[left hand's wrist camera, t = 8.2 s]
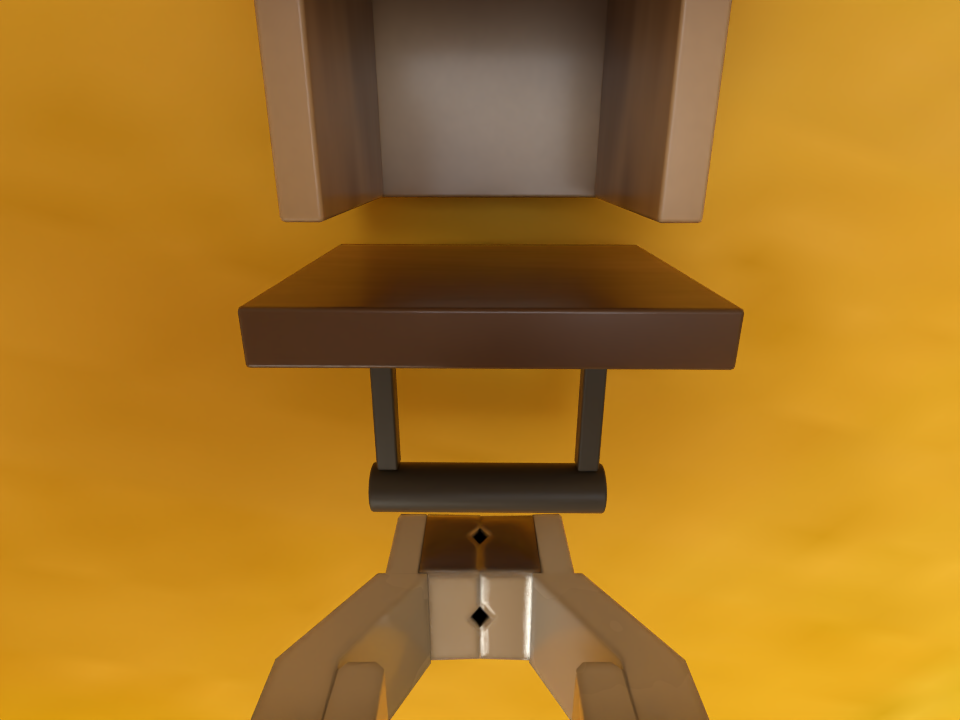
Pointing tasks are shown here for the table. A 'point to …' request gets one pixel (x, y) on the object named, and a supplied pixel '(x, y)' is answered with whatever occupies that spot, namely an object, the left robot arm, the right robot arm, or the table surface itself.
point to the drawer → (491, 173)
